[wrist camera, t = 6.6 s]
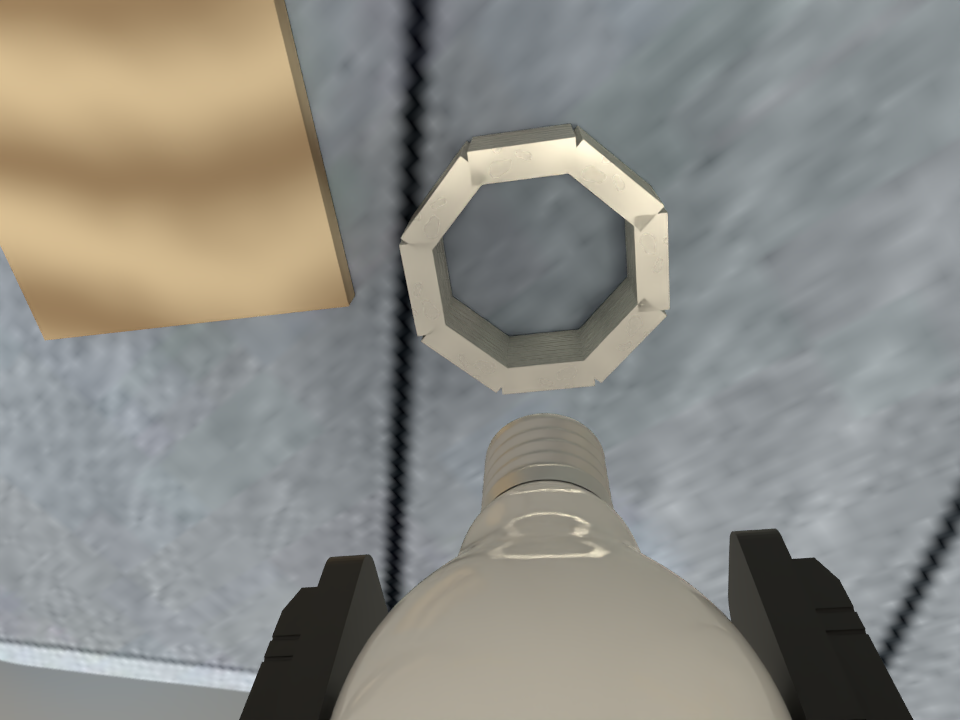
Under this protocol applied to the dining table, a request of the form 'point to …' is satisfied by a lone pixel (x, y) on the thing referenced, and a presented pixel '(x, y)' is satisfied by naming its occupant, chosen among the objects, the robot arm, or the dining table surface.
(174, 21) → the oak board
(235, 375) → the dining table surface
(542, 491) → the lightbulb
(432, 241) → the collar
